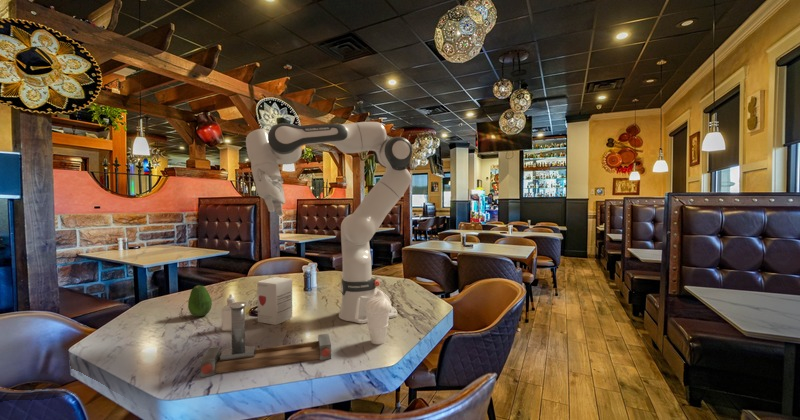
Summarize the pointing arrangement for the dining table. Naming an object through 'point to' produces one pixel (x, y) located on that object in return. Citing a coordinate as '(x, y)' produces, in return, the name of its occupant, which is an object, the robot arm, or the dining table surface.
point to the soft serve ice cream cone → (378, 317)
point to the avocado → (199, 301)
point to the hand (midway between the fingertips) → (276, 213)
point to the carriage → (238, 335)
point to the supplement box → (274, 300)
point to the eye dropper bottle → (227, 314)
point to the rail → (267, 356)
